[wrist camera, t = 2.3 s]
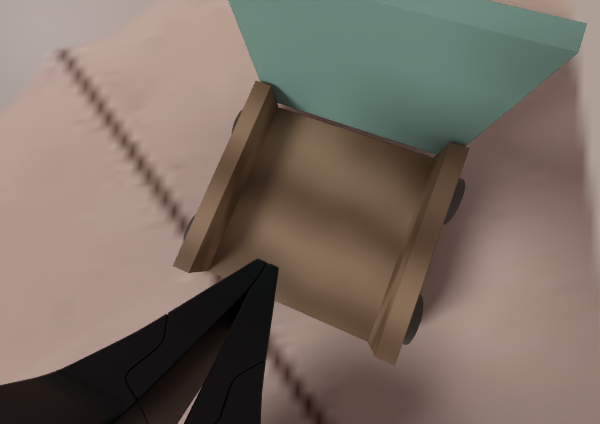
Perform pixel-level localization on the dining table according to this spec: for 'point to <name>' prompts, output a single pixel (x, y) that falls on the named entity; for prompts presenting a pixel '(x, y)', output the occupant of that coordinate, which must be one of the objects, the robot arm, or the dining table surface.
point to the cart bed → (327, 219)
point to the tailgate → (405, 61)
